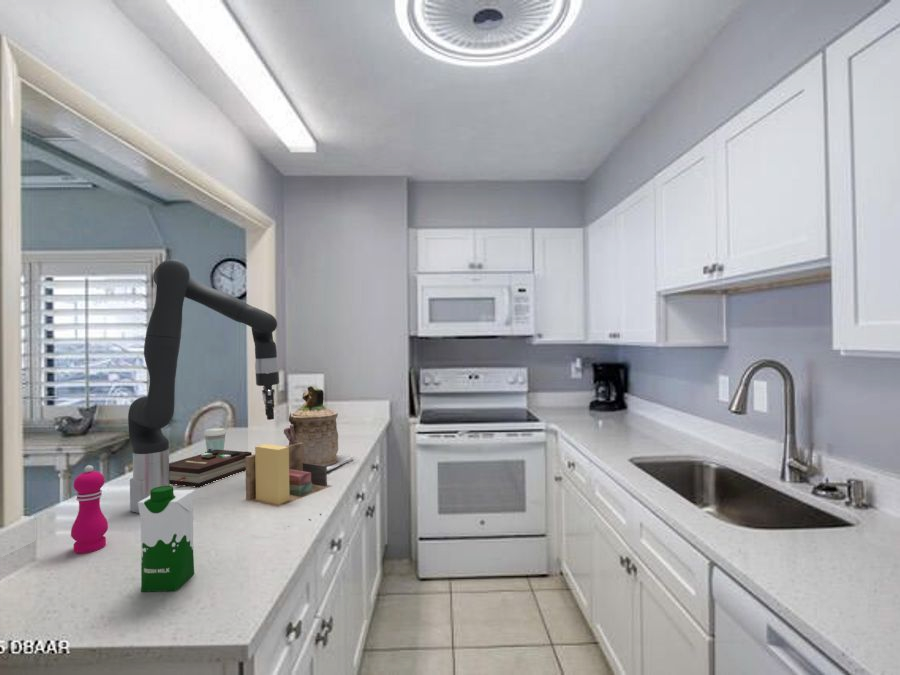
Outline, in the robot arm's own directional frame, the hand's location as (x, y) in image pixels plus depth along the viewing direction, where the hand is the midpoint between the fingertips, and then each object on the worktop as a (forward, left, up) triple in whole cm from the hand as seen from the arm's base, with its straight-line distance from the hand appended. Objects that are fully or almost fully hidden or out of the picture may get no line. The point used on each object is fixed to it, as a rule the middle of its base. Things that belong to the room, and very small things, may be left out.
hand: (269, 417), depth 168 cm
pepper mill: (-57, -3, -23) cm, 61 cm away
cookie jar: (+24, +4, -23) cm, 34 cm away
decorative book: (-4, +29, -24) cm, 37 cm away
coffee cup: (+15, +52, -23) cm, 59 cm away
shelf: (-8, -18, -23) cm, 30 cm away
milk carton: (-58, -37, -23) cm, 72 cm away
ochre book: (-15, -19, -21) cm, 32 cm away
